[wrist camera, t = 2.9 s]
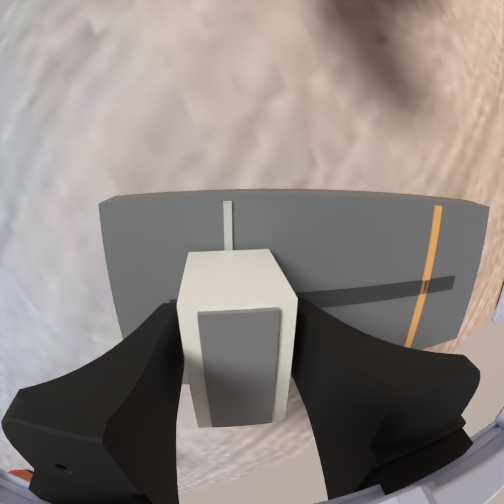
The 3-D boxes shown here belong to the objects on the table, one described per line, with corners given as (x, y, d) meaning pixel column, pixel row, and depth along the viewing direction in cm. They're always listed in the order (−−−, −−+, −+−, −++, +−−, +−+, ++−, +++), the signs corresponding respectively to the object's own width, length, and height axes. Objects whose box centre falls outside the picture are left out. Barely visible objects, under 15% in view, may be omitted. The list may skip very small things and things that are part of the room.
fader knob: (269, 248, 11) (299, 301, 7) (265, 353, 12) (285, 423, 9) (188, 252, 10) (175, 308, 7) (199, 357, 12) (198, 431, 8)
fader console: (467, 200, 14) (490, 207, 12) (440, 323, 17) (457, 338, 15) (114, 196, 12) (97, 203, 10) (142, 359, 14) (136, 384, 12)
